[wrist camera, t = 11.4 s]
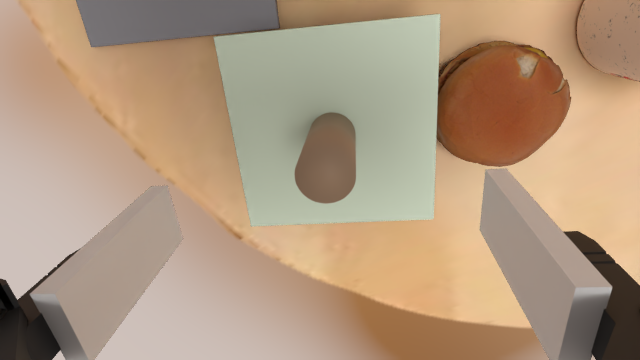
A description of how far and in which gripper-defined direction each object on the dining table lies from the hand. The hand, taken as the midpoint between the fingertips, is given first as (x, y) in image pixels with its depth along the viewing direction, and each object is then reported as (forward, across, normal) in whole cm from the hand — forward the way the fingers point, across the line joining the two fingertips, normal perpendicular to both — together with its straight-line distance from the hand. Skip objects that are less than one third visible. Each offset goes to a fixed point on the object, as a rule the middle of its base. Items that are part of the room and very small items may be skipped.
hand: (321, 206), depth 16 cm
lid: (+12, 0, -1) cm, 12 cm away
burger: (+19, +12, -1) cm, 22 cm away
